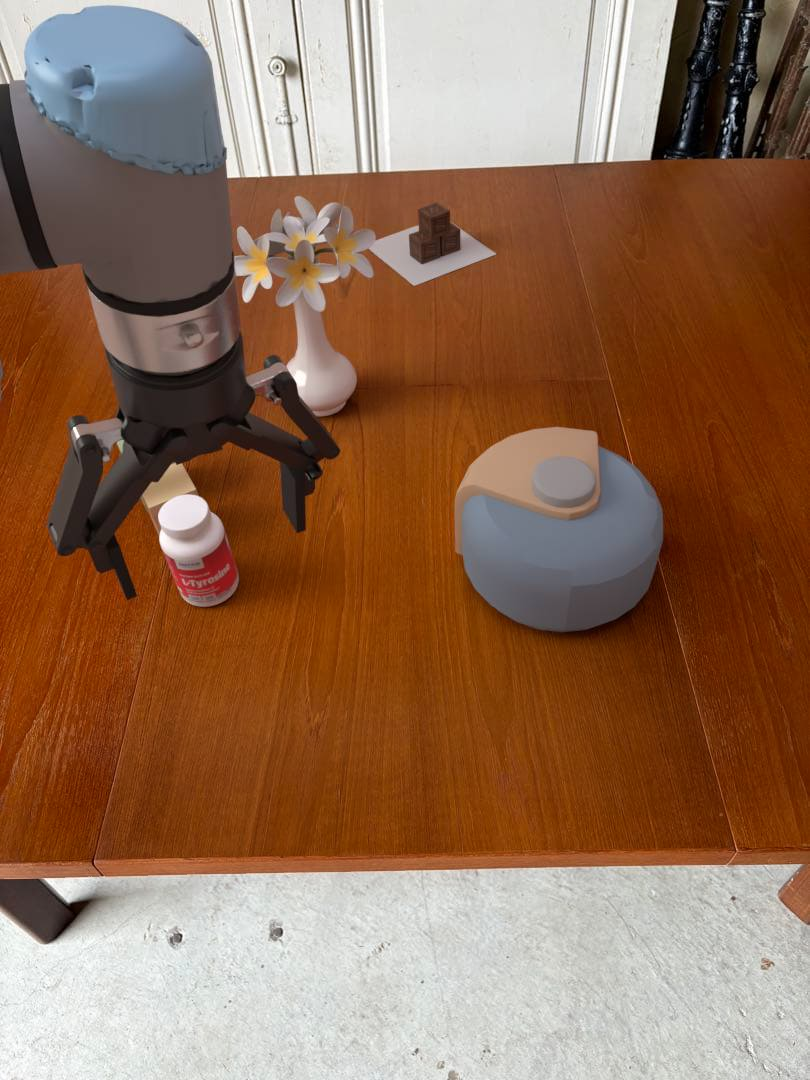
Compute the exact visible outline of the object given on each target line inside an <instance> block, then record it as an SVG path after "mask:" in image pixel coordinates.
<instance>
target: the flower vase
mask: <svg viewBox="0 0 810 1080" xmlns="http://www.w3.org/2000/svg"><path fill="white" fill-rule="evenodd" d="M293 202H294V205H295V207H296V209H297V211H298V213H299V214H300V216H301V217H298V216H292V215H291V211H288V212H287V213H286V214H285V216H284V217H283V215H282V210H281V208H277V209H276V210H275V212H274V213H273V216H272V218H271V223H270V232H267V233H265V234H263V235H261V236H259V237H257V238H256V239H255V240H253V238H252V237H251V235H250V234H249V232H248V231H247V229H246V228H244V227H243V226H238V227H237V229H236V238H237V243H238V245H239V247H240V249H241V251H242V252H243V253H244V254H245V255H234V266H235V271H236V277H246V276H247V277H246V278H245V280H244V281H243V284H242V290H241V291H242V292H241V295H242V300H243V302H244V303H246V304H247V303H248V304H249V302H251V301H252V299H253V297H254V295H255V293H256V291H257V289H258V287H259V285H261V287H262V288H264V289H265V290H270V289H272V286H273V276H272V274H273V275H274V276H277V277H279V278H282V279H284V282H282V284H281V285H280V286H279V289H278V290H277V293H276V295H275V303H276V305H277V306H278V307H280V308H285V307H288V306H290V305H291V304H293V310H294V316H295V325H296V331H297V332H296V333H297V345H296V351H295V354H294V355H293V357H292V358H291V359H289V361H288V362H287V364H286V365H285V366H286V367H287V369H288V370H289V372H290V373H291V375H292V377H293V378H294V380H295V381H296V384H297V389H298V395H299V396H300V397H301V398H302V400H303V401H304V402H305V403H306V404H307V406H308V407H309V408H310V409H311V410H312V412H313V413H314V414H315V415H316V416H317V418H322V417H329V416H333V415H334V414H336V413H339V412H340V411H341V410H342V409H343V408H344V406H346V404H347V401H348V400H349V398H350V397H351V396H352V395H353V393H354V392H355V390H356V387H357V384H358V379H357V378H358V375H357V371H356V369H355V367H354V365H353V364H352V361H351V360H349V358H347V357H346V356H345V355H344V354H343V353H342V352H340V351H338V350H336V349H335V348H334V347H333V345H332V344H331V342H330V341H329V339H328V336H327V333H326V328H325V324H324V320H323V315H322V312H324V311H325V309H326V307H327V305H326V304H327V303H326V297H325V293H324V291H323V289H322V288H321V285H320V284H329V283H332V282H334V281H336V280H337V279H339V278H342V279H346V278H348V277H349V276H350V273H351V270H352V269H351V267H352V268H354V269H355V270H356V271H357V272H358V273H359V274H360V275H362V276H364V277H366V278H368V279H372V278H373V277H374V274H375V273H374V269H373V267H372V264H371V262H370V261H369V260H368V258H367V257H365V256H364V255H363V254H362V252H364V251H366V250H369V249H368V248H370V247H371V246H372V245H373V244H374V242H375V240H377V236H376V233H375V231H374V230H372V229H369V228H363V229H359V230H357V231H354V223H355V222H354V216H353V212H352V211H351V208H350V207H349V206H347V205H344V206H343V207H342V205H341V204H340V203H339V202H330V203H328V204H325V206H323V207H322V208H321V209H320V211H319V212H318V215H317V211H316V209H315V207H314V206H313V204H312V203H311V202H310V201H309V200H308V199H306V198H305V197H303V196H300V195H298V196H295V197H294V201H293ZM338 219H339V222H338V224H335V223H336V222H337V221H338ZM322 244H323V245H325V244H328V245H329V246H330V247H323V248H319V249H317V250H316V247H317V246H319V245H322ZM283 253H285V254H287V255H289V257H287V258H285V257H281V256H277V255H280V254H283ZM322 253H332V254H333V253H334V255H335V259H336V265H335V264H331V263H321V261H320V260H319V258H317V257H316V256H317V255H319V254H322Z"/></svg>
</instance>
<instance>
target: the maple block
mask: <svg viewBox="0 0 810 1080" xmlns="http://www.w3.org/2000/svg"><path fill="white" fill-rule="evenodd" d="M183 464H184V463H181V464H178V465H176V463H174V464H171V465H170V466H169V468H168V469H167V471H166V472H165V473H164V475H163V476H162V478H161V479H160V480H159V481H158V482H151V483H150V485H149V486H148V488H147V489H146V490H145V492H144V493H143V495H142V498H143V500H144V503H145V505H146V507H147V510H148V512H149V513H148V512H147V513H148V514H149V516H150V519H151V521H152V524H153V527H154V528H155V529H154V530H155V531H156V533H157V535H158V537H159V536H160V532H161V529H162V528H161V525H160V522H159V519H158V514H159V511H160V509H161V508H162V506H163V505H164V504H165V503H166V502H168V501H169V500H171V499H172V498H175V497H177V496H180V495H189V494H190V495H196V496H199V497H200V495H199V493H198V490H197V488H196V486H195V484H194V482H193V480H192V479H191V477H190V475H189V473H188V472H187V470H186V468H185V466H184V465H183ZM147 510H146V511H147Z"/></svg>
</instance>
